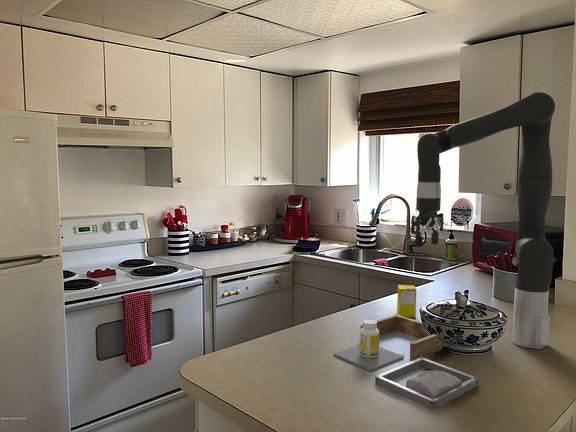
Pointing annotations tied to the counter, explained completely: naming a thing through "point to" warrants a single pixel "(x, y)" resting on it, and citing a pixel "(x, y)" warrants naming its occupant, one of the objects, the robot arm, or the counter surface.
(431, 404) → the metal tray
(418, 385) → the stone block
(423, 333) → the open wooden tray
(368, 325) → the supplement bottle
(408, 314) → the supplement box
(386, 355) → the mat
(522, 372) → the counter surface
